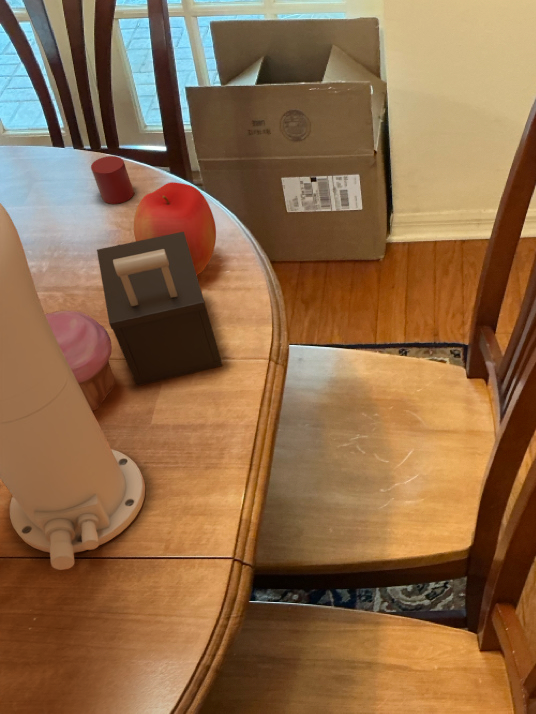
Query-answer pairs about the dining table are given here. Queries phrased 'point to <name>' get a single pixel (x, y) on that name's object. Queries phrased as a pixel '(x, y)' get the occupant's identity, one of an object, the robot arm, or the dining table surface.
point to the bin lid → (149, 280)
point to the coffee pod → (112, 179)
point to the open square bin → (169, 347)
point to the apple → (178, 219)
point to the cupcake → (85, 352)
